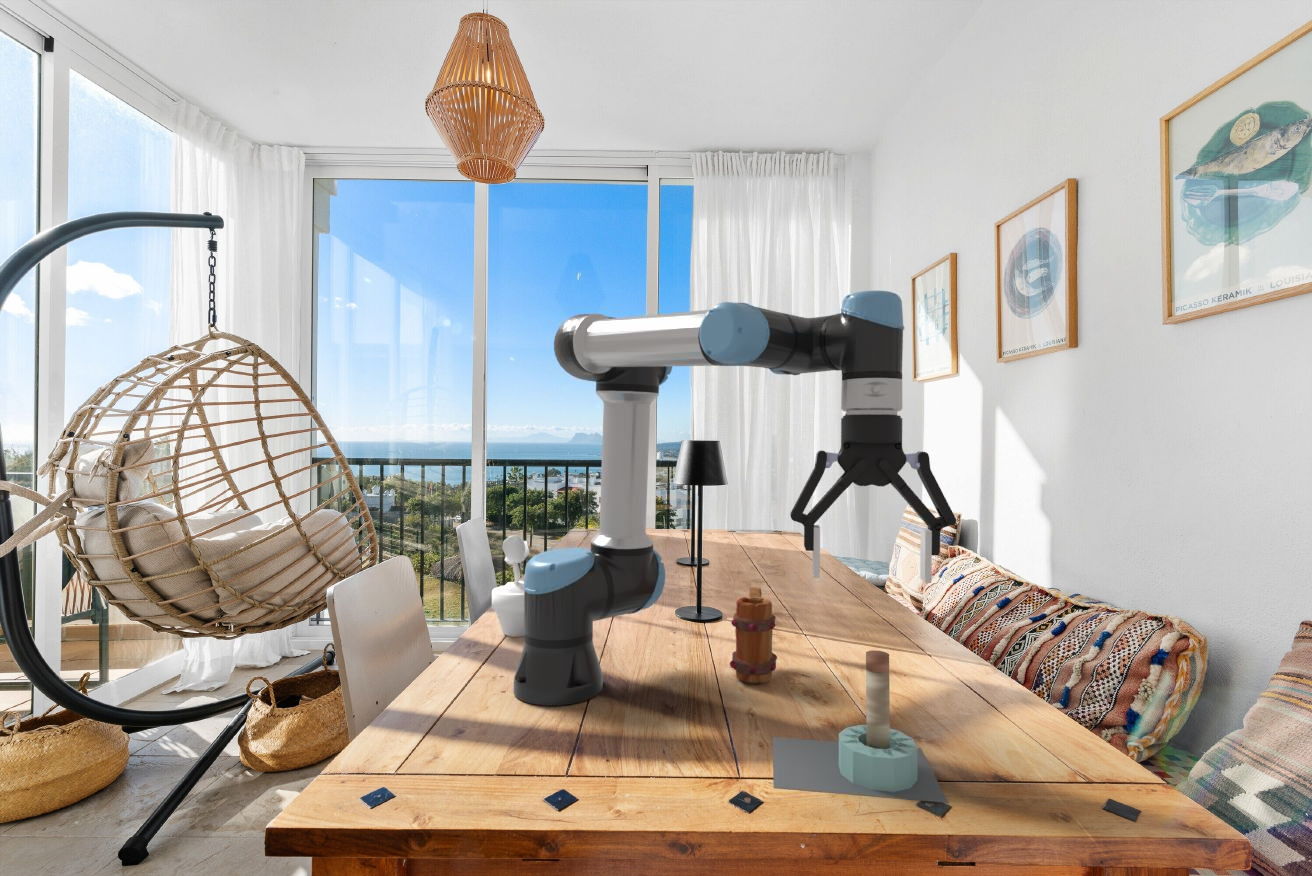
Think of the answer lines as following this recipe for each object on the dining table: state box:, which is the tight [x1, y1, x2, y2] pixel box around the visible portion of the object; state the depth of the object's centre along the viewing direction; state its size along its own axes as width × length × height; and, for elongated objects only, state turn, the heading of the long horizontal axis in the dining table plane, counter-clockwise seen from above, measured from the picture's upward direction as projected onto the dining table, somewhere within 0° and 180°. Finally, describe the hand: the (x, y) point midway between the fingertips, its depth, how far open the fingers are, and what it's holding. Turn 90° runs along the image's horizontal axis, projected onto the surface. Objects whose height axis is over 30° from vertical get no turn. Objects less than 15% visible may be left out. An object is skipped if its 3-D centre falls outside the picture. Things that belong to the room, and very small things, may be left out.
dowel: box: [865, 650, 891, 749], centre depth 84 cm, size 3×3×15 cm
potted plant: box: [491, 526, 541, 638], centre depth 148 cm, size 13×12×25 cm
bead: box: [838, 724, 919, 792], centre depth 84 cm, size 9×9×4 cm
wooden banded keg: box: [729, 586, 778, 685], centre depth 121 cm, size 15×8×15 cm, turn 168°
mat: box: [771, 736, 949, 804], centre depth 86 cm, size 20×14×1 cm
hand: (870, 578), depth 86 cm, fingers open, 13 cm apart
